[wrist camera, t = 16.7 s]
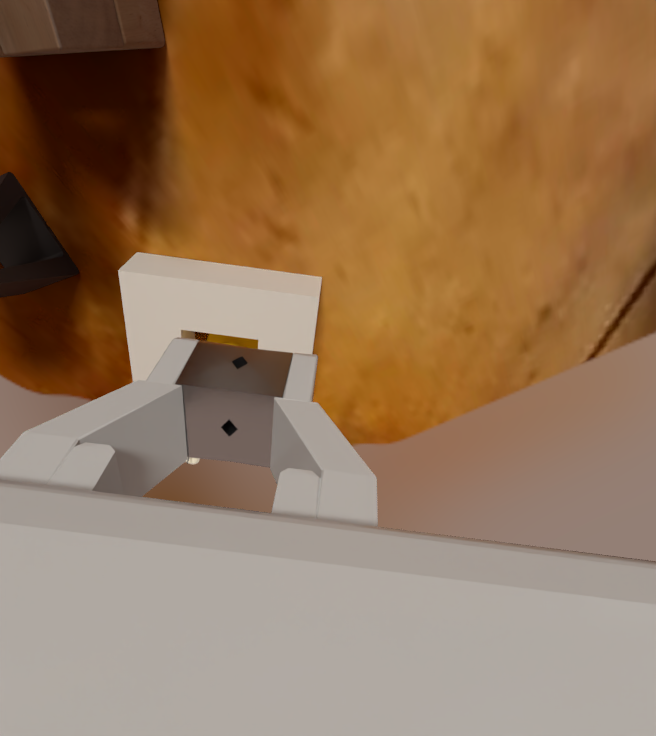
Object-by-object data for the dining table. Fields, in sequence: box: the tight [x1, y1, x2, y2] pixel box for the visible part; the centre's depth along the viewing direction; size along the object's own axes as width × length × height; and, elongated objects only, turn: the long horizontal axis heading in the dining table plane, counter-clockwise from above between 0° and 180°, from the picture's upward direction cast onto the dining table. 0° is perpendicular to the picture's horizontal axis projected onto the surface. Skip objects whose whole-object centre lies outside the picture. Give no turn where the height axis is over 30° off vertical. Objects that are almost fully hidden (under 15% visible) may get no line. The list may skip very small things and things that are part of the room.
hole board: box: [118, 252, 322, 382], centre depth 44 cm, size 16×16×4 cm
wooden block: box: [0, 0, 165, 57], centre depth 24 cm, size 4×11×18 cm, turn 93°
